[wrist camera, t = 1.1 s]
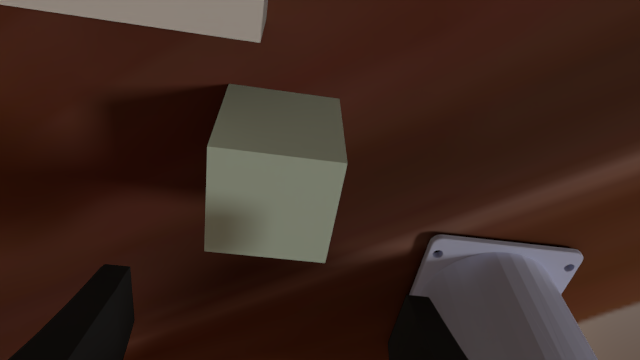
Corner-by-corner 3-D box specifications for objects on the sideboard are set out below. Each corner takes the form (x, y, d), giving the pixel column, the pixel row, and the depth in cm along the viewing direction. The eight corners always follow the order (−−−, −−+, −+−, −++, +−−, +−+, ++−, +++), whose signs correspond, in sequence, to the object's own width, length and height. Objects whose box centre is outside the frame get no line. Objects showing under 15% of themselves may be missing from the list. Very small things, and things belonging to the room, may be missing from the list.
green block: (322, 186, 22) (325, 263, 18) (224, 175, 22) (204, 251, 17) (339, 98, 20) (347, 163, 15) (229, 83, 19) (207, 146, 15)
